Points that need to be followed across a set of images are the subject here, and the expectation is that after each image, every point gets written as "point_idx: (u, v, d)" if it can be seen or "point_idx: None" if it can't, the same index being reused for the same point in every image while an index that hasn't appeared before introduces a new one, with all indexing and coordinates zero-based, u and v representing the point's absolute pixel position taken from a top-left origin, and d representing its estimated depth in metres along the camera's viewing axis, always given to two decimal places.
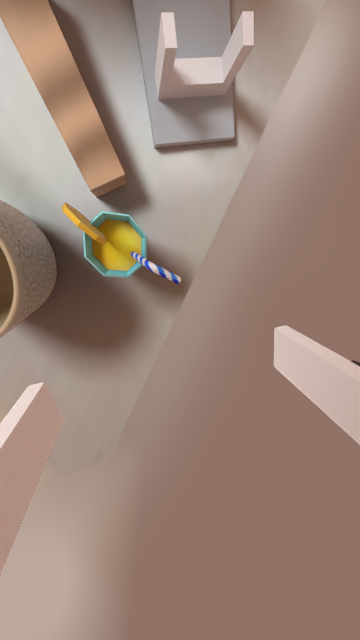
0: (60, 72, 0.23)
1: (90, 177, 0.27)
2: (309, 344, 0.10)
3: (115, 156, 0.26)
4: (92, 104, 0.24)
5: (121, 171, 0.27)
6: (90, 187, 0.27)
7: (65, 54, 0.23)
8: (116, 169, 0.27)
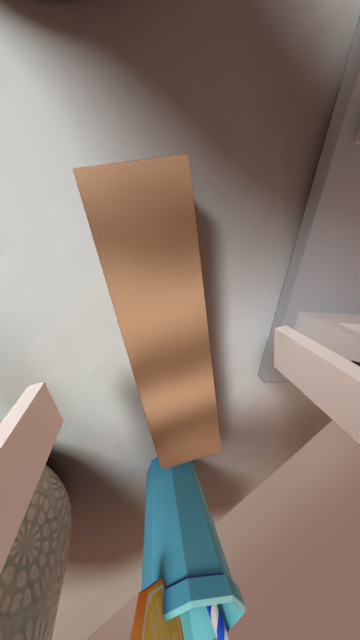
0: (177, 342, 0.13)
1: (167, 457, 0.16)
2: (309, 344, 0.10)
3: (217, 434, 0.16)
4: (210, 380, 0.14)
5: (217, 449, 0.17)
6: (163, 466, 0.16)
7: (196, 321, 0.12)
8: (211, 447, 0.17)
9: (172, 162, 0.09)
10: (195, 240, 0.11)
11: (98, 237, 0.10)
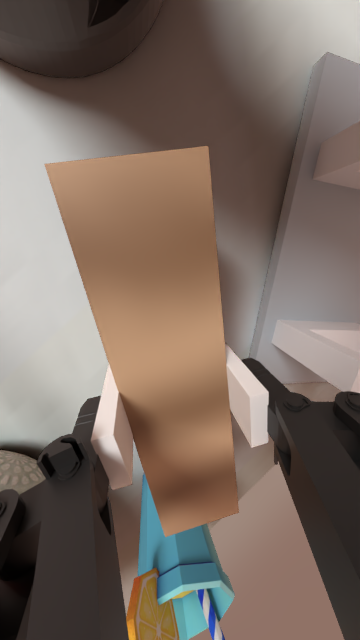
0: (188, 388, 0.10)
1: (173, 522, 0.13)
2: None
3: (234, 493, 0.13)
4: (228, 432, 0.11)
5: (234, 510, 0.14)
6: (167, 533, 0.13)
7: (212, 363, 0.10)
8: (227, 508, 0.14)
9: (185, 157, 0.07)
10: (214, 261, 0.08)
11: (82, 259, 0.07)
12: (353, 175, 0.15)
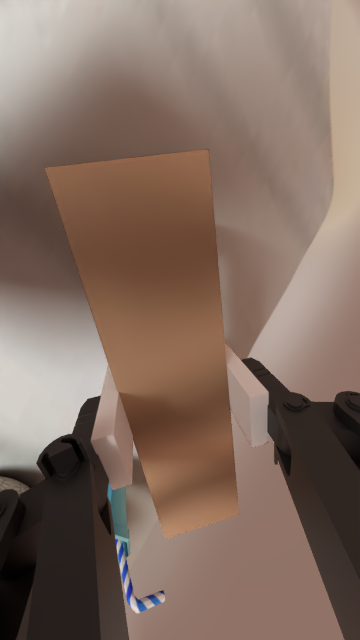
0: (188, 391, 0.10)
1: (173, 524, 0.13)
2: None
3: (234, 495, 0.13)
4: (228, 435, 0.11)
5: (234, 511, 0.14)
6: (167, 535, 0.13)
7: (213, 365, 0.10)
8: (227, 510, 0.14)
9: (186, 160, 0.07)
10: (214, 264, 0.08)
11: (83, 262, 0.07)
12: None
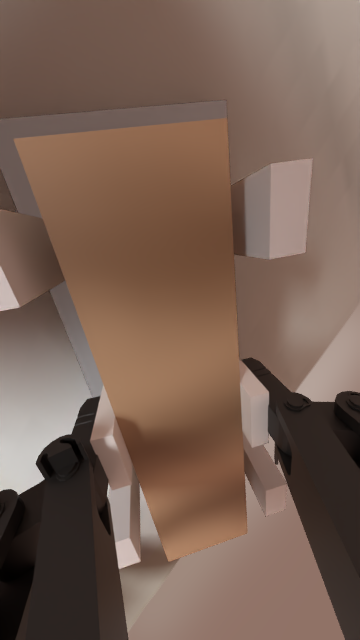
0: (196, 410, 0.08)
1: (177, 547, 0.12)
2: None
3: (243, 515, 0.12)
4: (239, 455, 0.10)
5: (242, 531, 0.13)
6: (171, 558, 0.12)
7: (224, 381, 0.08)
8: (235, 530, 0.12)
9: (198, 133, 0.05)
10: (230, 265, 0.07)
11: (68, 263, 0.06)
12: None
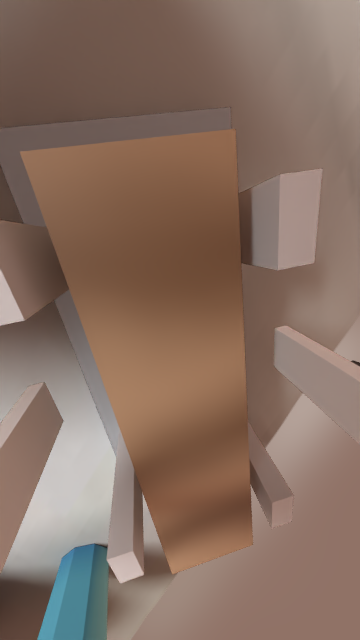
0: (201, 421, 0.08)
1: (181, 559, 0.12)
2: (309, 344, 0.10)
3: (248, 527, 0.12)
4: (245, 465, 0.10)
5: (248, 542, 0.12)
6: (174, 571, 0.12)
7: (231, 392, 0.08)
8: (240, 542, 0.12)
9: (206, 144, 0.05)
10: (237, 275, 0.06)
11: (74, 275, 0.06)
12: None
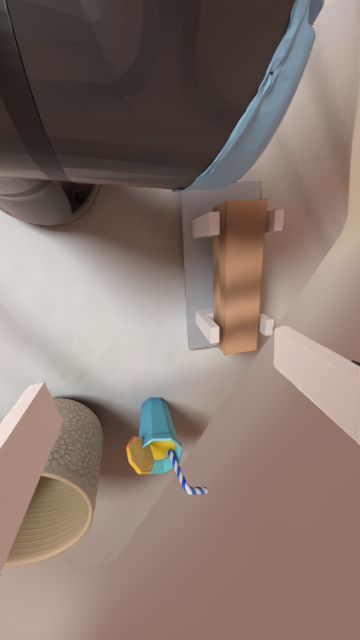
0: (248, 278, 0.27)
1: (229, 347, 0.30)
2: (309, 344, 0.10)
3: (256, 337, 0.31)
4: (258, 302, 0.29)
5: (254, 347, 0.31)
6: (226, 353, 0.31)
7: (257, 269, 0.27)
8: (252, 345, 0.31)
9: (261, 201, 0.25)
10: (263, 232, 0.26)
11: (228, 226, 0.25)
12: (207, 236, 0.30)
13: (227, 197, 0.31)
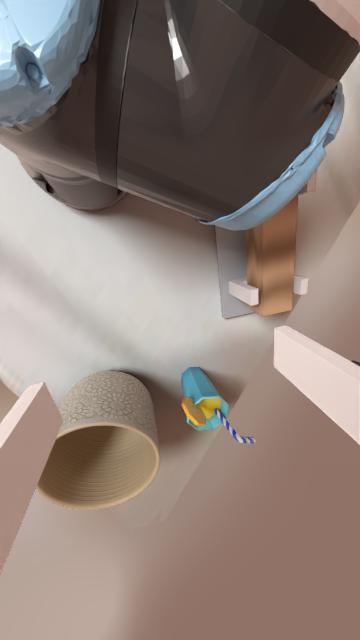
0: (283, 240, 0.29)
1: (267, 308, 0.33)
2: (309, 344, 0.10)
3: (291, 297, 0.33)
4: (293, 263, 0.31)
5: (290, 307, 0.33)
6: (264, 314, 0.33)
7: (292, 231, 0.29)
8: (287, 305, 0.33)
9: None
10: (297, 194, 0.28)
11: None
12: None
13: None
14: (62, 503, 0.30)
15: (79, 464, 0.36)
